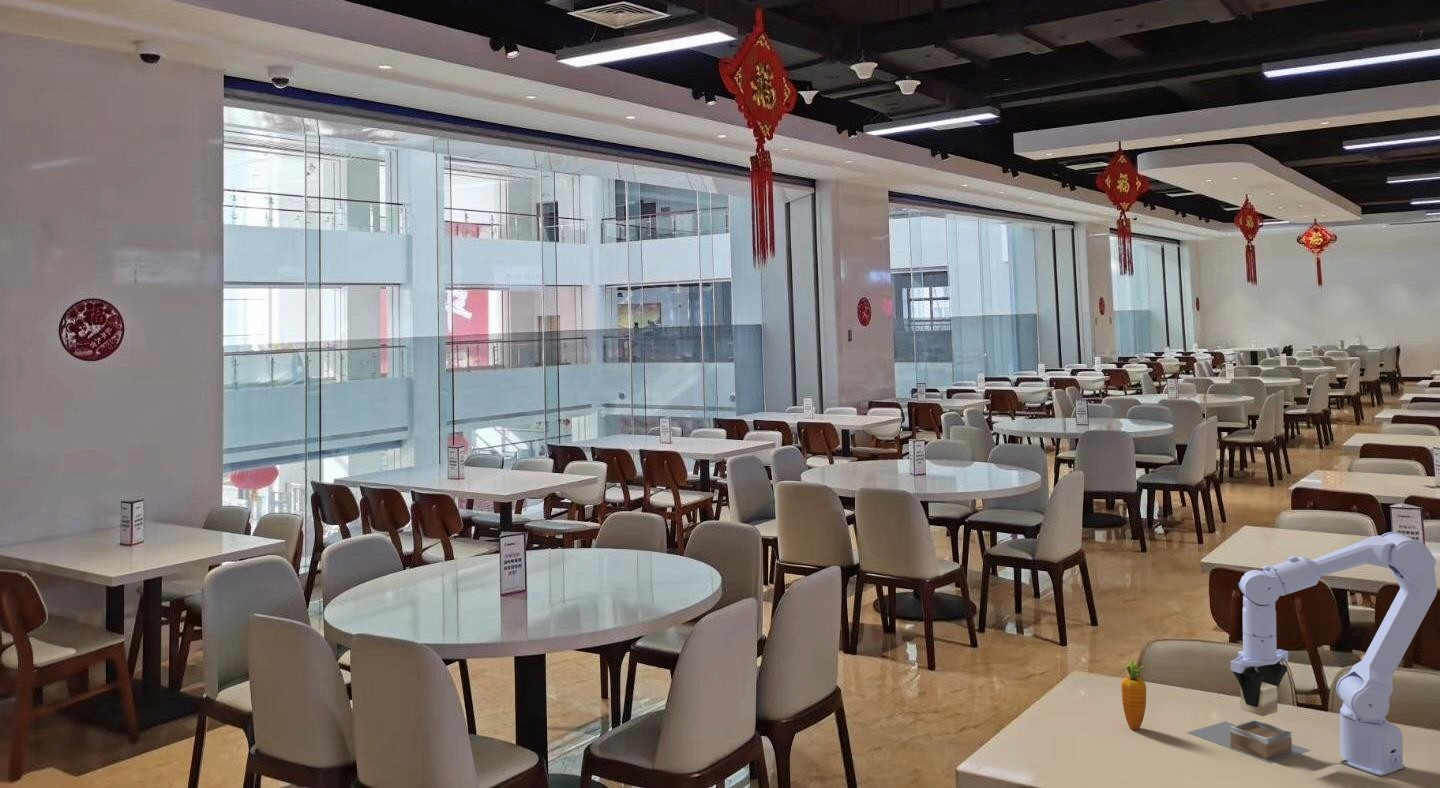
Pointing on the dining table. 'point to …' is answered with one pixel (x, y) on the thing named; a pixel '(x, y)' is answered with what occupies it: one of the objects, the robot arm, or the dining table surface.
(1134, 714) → the carrot
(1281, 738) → the walnut plinth
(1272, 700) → the maple block
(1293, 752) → the board
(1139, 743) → the dining table surface
